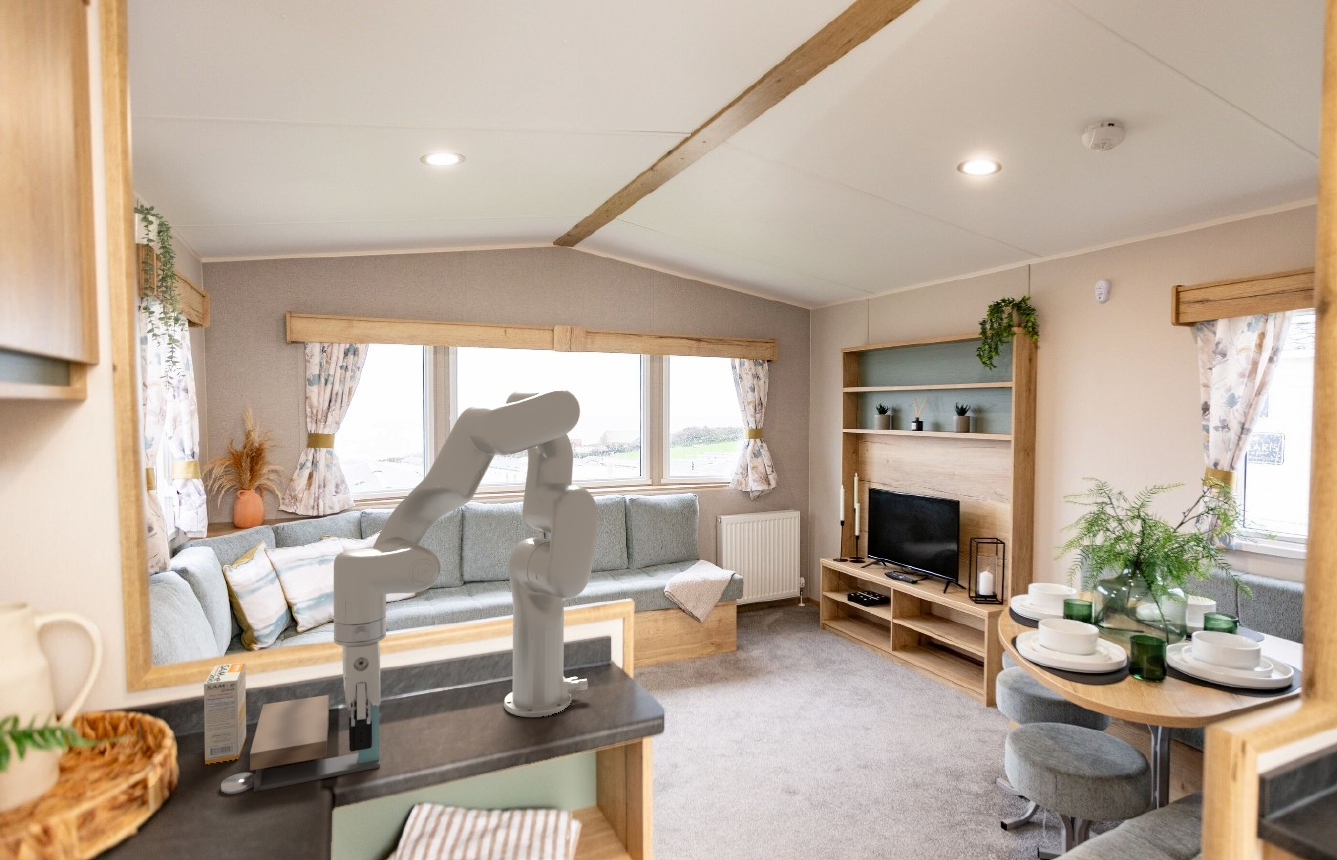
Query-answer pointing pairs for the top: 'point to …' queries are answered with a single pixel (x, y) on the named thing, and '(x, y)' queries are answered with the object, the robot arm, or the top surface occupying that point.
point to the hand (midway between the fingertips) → (360, 744)
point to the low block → (291, 732)
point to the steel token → (238, 783)
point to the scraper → (323, 764)
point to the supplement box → (225, 712)
